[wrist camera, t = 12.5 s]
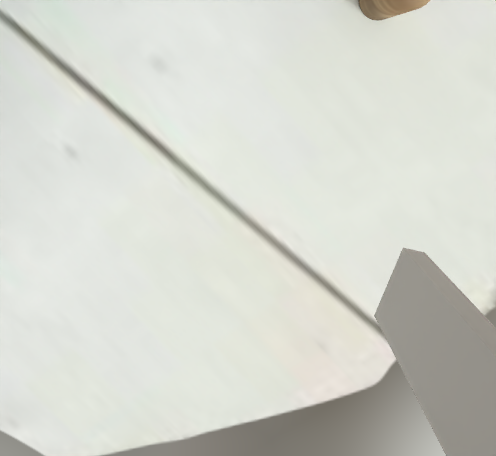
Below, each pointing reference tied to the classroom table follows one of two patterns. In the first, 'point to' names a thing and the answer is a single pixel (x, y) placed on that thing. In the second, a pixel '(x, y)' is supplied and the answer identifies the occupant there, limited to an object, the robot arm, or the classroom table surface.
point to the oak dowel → (389, 7)
